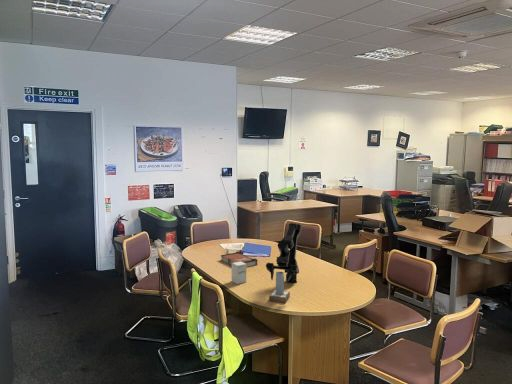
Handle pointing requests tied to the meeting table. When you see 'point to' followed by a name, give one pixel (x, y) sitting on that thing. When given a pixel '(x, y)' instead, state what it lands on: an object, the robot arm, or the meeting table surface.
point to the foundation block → (279, 297)
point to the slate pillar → (279, 283)
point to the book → (238, 259)
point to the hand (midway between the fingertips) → (279, 281)
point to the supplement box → (238, 272)
